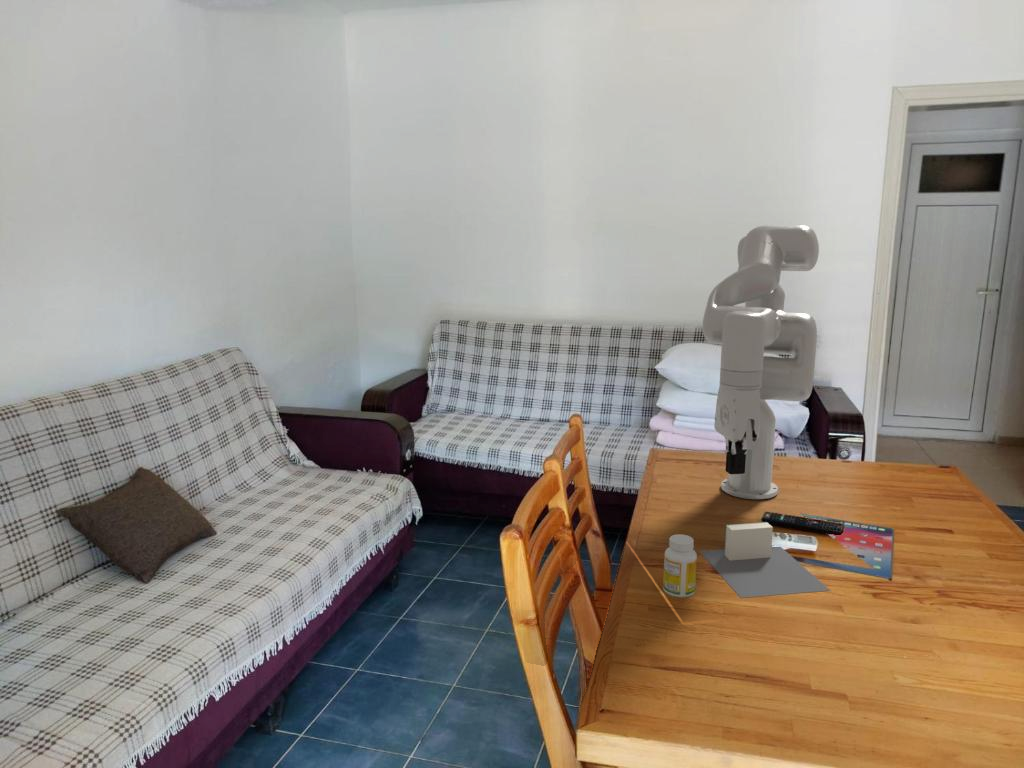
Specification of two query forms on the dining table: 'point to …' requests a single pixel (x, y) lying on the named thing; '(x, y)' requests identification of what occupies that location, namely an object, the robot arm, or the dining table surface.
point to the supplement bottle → (680, 566)
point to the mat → (764, 574)
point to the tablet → (862, 548)
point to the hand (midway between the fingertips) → (735, 472)
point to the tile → (748, 541)
